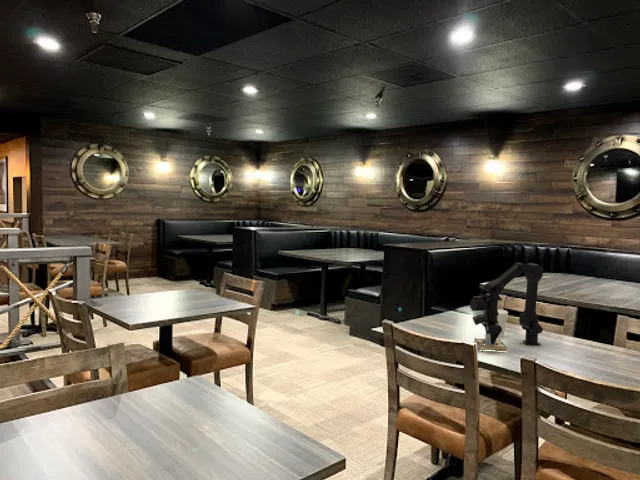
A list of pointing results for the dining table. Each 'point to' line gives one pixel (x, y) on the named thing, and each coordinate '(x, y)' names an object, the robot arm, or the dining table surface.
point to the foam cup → (502, 320)
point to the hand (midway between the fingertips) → (490, 341)
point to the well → (497, 347)
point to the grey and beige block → (488, 340)
